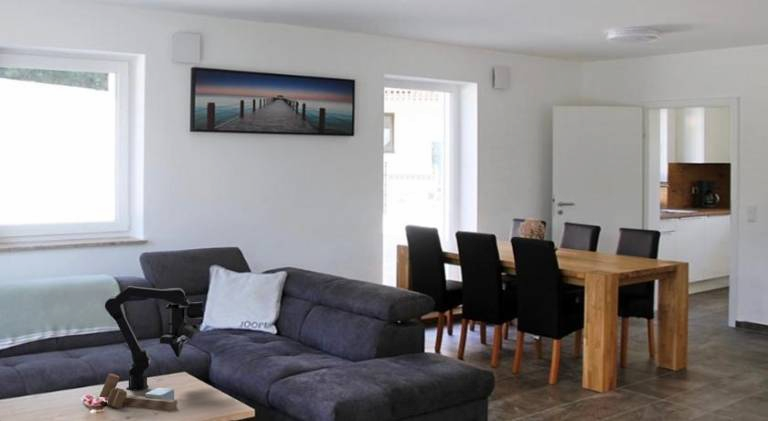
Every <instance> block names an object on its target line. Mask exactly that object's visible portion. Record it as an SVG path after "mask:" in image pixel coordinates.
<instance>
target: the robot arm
mask: <svg viewBox="0 0 768 421" xmlns="http://www.w3.org/2000/svg"><path fill="white" fill-rule="evenodd" d="M132 297H137V298H147V299H154V300H155V299H156V300H162V301H166V302H168V304H167V305H166V306H165V309H166V310H170V321H169V322H168V325H169V326H170V331H169V332H168V334H165V335H162V336H160V337H159V344H164V345H170V347H171V349H172V351H173V353H174V355H175V357H176V358H180V357H181V354H182V350H183V348H184V344H185V343H186V342H187V341H189V339H191V340H192V339H194V338H197V336H198V334H200V325H198V324H197V323H196V324H193V325H189V324H188V321H187V320H186V317H188V318H189V320H191V319H192V320H194V319H196V320H199V319H204V308H203V301H196V302H193V301H191V302H190V301H189V299H188V298H187V297H186V292H185V291H184V290H183V288H181V287H171V288H163V289H162V288H151V287H142V286H134V285H128V286H127V287H126V288H125V289H124V290H123V291H121V292H120V293H118V294H117V295H114V296H110V297H109V298H108V299H107V300H106V301H105V303H104V308H105V310H106V311H107V313H108V314H109V315H110V317H111V318H112V319H113V320H115V323H116V324H117V327H118V329H119V331H120V332H121V334H122V337H123V338H124V341H125V342H126V344H127V347H128V348H129V350H130V353H131V358H132V359H131V360H132V361H133V363H132V365H130V367H129V370H128V386H127V387H126V390H131V391H133V390H134V391H142V390H144V389H146V388H149V385H148V377H147V372H145V371H146V370H147V369H148V368H149V366H150V364H151V363H150V362H151V354H149V352H148V348H147V347H145V348H143V347H142V346H141V345H140V344H139V341H138V340H137V336H136V335H135V333H134V331H133V329H132V327H131V325H130V324H129V322H128V319H127V317H126V314H125V310H124V306H123V304H124V303H125V302H127V301H128V300H129V299H130V298H132Z"/></svg>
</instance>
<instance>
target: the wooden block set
mask: <svg viewBox="0 0 768 421" xmlns="http://www.w3.org/2000/svg"><path fill="white" fill-rule="evenodd" d="M120 379H121V378H120V376H119V375H117V374H114V373H109V374H108V375H107V378H106V380H105V382H104V384H103V387H102V389H101V391H100V394H99V396H98V398H99V397H107V398H108V404H107V405H109V406H111V407H113V408H116V409H122V407H123V406H124V405H123V402H124V400H125V398H126V395H128V393H127V391H126V390H124V389H122V388H119V387H117V385H118V382H119V381H120Z"/></svg>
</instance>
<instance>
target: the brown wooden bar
mask: <svg viewBox="0 0 768 421" xmlns="http://www.w3.org/2000/svg"><path fill="white" fill-rule="evenodd" d="M122 406H127V407H135V408H136V407H137V408H145V407H147V408H146V409H155V408H159V409H158V410H165V409H167V411H169V410H170V411H173V410H176V409H177V407H178V406H177V399H174V400H172V399H161V398H151V397H145V396H138V395H137V396H136V395H129V394H127V395H126V398H125V400H124V402H123V405H122Z"/></svg>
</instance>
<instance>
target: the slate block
mask: <svg viewBox="0 0 768 421" xmlns="http://www.w3.org/2000/svg"><path fill="white" fill-rule="evenodd" d="M144 397H151V398H161V399H172V400H175V389H174V388H166V387H156V388H154V389H152V390H151V391H150V390H149V391H148V392H146V393H144Z"/></svg>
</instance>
